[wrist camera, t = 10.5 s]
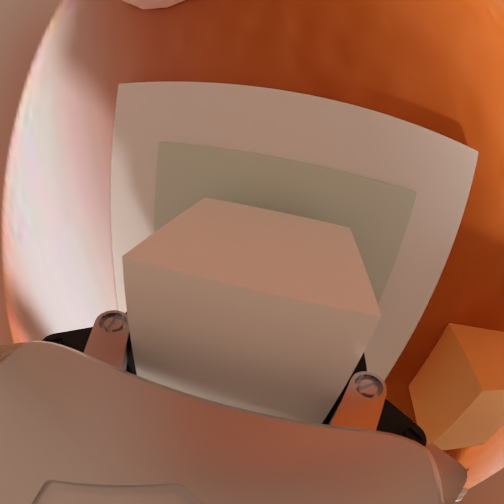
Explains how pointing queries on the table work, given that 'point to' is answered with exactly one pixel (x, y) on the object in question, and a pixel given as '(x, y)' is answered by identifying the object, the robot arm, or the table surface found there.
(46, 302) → the table surface
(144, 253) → the bottom brick
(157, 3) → the white cup
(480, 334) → the top brick
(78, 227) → the table surface
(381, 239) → the baseplate
